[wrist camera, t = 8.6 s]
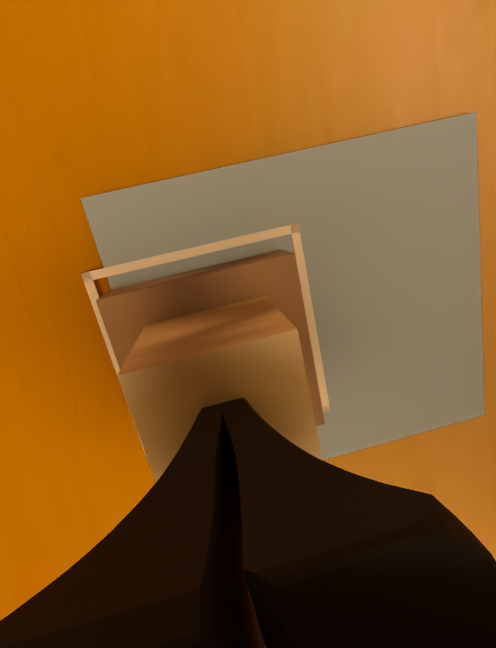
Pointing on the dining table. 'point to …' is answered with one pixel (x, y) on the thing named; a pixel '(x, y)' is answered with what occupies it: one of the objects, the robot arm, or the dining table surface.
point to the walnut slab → (211, 302)
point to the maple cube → (217, 375)
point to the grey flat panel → (337, 265)
